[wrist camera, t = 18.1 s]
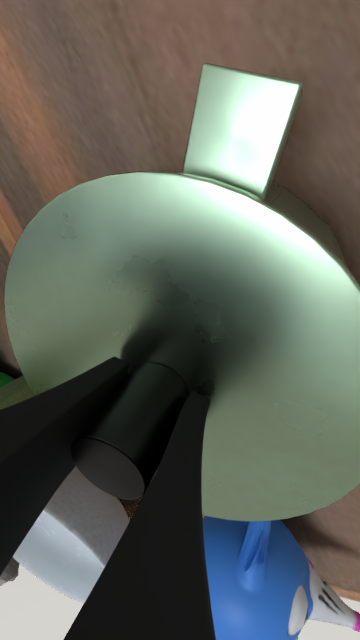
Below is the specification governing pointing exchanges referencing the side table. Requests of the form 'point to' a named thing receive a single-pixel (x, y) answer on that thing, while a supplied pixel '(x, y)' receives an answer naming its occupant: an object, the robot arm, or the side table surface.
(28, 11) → the side table surface
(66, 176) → the side table surface
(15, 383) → the vegetable
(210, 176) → the pot
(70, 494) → the cereal bowl
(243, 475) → the lid
